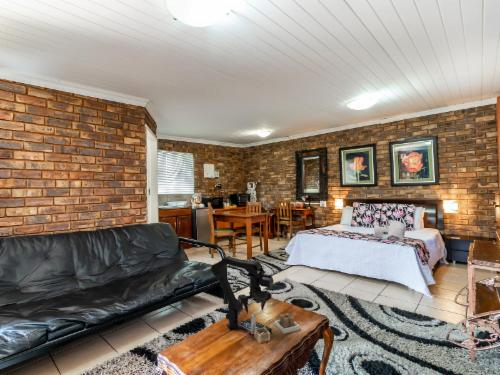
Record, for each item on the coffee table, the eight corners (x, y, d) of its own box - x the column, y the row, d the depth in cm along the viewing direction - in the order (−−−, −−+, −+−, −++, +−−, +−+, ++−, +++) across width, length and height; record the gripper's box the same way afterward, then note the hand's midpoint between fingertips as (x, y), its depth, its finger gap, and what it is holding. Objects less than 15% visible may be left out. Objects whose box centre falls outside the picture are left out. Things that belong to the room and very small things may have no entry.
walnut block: (279, 325, 160) (279, 315, 160) (288, 322, 162) (288, 313, 162) (285, 330, 154) (284, 319, 154) (293, 327, 157) (293, 317, 157)
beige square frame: (254, 336, 149) (254, 329, 149) (264, 334, 152) (264, 327, 152) (259, 343, 143) (259, 335, 143) (270, 340, 146) (270, 332, 146)
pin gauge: (250, 332, 154) (250, 314, 154) (254, 331, 155) (254, 313, 155) (252, 334, 151) (252, 317, 151) (256, 333, 152) (256, 315, 152)
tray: (274, 325, 161) (274, 321, 161) (289, 321, 165) (289, 317, 165) (283, 334, 151) (283, 329, 151) (299, 329, 156) (299, 325, 156)
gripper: (244, 292, 142) (244, 322, 142) (276, 287, 149) (276, 315, 150) (237, 285, 152) (237, 312, 152) (267, 280, 159) (267, 306, 160)
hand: (254, 311), depth 153 cm, fingers open, 9 cm apart
